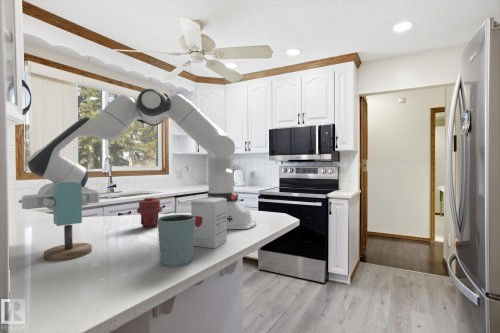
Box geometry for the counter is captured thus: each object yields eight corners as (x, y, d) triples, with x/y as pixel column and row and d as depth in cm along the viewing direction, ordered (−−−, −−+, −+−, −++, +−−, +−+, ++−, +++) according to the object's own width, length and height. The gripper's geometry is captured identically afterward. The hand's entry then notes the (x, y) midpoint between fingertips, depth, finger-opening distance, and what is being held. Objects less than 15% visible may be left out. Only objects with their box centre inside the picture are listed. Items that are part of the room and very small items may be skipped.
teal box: (76, 219, 85) (76, 182, 85) (81, 222, 81) (81, 182, 81) (53, 222, 81) (53, 183, 81) (57, 226, 77) (57, 183, 77)
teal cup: (155, 269, 68) (154, 222, 68) (160, 256, 78) (159, 214, 78) (195, 266, 70) (195, 220, 70) (196, 253, 80) (195, 213, 80)
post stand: (100, 249, 85) (100, 222, 85) (65, 262, 74) (65, 231, 74) (71, 246, 88) (70, 220, 88) (33, 258, 77) (32, 229, 77)
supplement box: (190, 246, 88) (190, 200, 87) (204, 238, 96) (203, 196, 96) (215, 249, 84) (215, 201, 84) (227, 241, 93) (227, 197, 93)
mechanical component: (144, 224, 121) (165, 224, 120) (132, 229, 111) (155, 230, 110) (144, 196, 120) (165, 196, 120) (132, 199, 111) (155, 199, 110)
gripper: (17, 190, 83) (22, 193, 73) (92, 186, 97) (104, 188, 87) (17, 210, 83) (22, 217, 73) (92, 203, 97) (104, 208, 87)
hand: (68, 201), depth 80 cm, fingers closed on teal box, 6 cm apart
